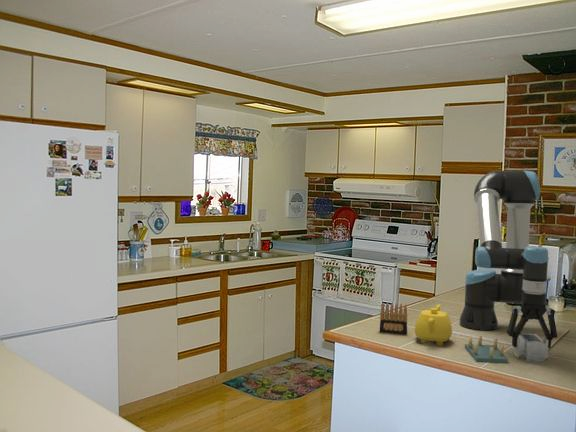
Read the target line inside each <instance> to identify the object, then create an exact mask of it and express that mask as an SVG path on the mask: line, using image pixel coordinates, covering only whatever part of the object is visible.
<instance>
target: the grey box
mask: <svg viewBox="0 0 576 432" xmlns="http://www.w3.org/2000/svg"><path fill="white" fill-rule="evenodd" d="M518 338H520V352H519V357H521V358H522V359H523V361H525V362H526V363H527V364H528V363H530V364H546V343H545V342H544V341H543V338H541V337H540V336H539V335H538V334H537V333H527V332H526V333H522V332H521V333H520V334H519V336H518Z"/></svg>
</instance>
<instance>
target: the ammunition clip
mask: <svg viewBox="0 0 576 432" xmlns="http://www.w3.org/2000/svg"><path fill="white" fill-rule="evenodd" d="M385 304H386V305H385ZM389 305H390V306H389ZM380 308H381V309H380V315H379V316H380V317H379V318H380V320H379V321H380V322H379V333H382V332H383V334H394V335H395V334H396V335H404V336H406V335H408V306H407V304H406V303H405V304H404V307H403V304H402V303H400V304H399V306H398V303H395V306H394V303H393V302H391V304H389V302H386V303H384V302H381V306H380ZM389 308H390V309H389Z"/></svg>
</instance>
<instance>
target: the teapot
mask: <svg viewBox="0 0 576 432" xmlns="http://www.w3.org/2000/svg"><path fill="white" fill-rule="evenodd" d="M440 307H441V304H439V303H437V304H436V305H435V307H430V308H429V309H424V310H421V312H420V314H419V315H418V318H417V320H416V323H415V326H414V334H415V336H416V337H417V338H418V339H420V341H419V342H420V343H421V344H426V343H427V342H428V341H430V342H431V341H432V342H436V345H437V346H443V345H444V343H443V342H448V341H449V340H450V338H451V336H452V334H453V330H452V329H453V328H452V322H451V320H450V318H449V317H450V316H449V315H448V313H447V312H445V311H441V310H440Z"/></svg>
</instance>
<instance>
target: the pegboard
mask: <svg viewBox="0 0 576 432" xmlns="http://www.w3.org/2000/svg"><path fill="white" fill-rule="evenodd" d="M477 339H478V340H477V341H478V343H473V337H468V344H467V343H465V344H464V348H465V350H466V352H468V353H469V355H470V356H471V357H472V359H473V360H474V361H475V362H477V363H478V362H479V363H483V362H484V363H503V364H504V363H506V364H509V359H508V358H507V357H506V355H505V354H504V351H505V349H504V348H505V345H504V344H499V349H498V338H493V344H492V345H491V344H483V335H481V334H480V335H478V338H477Z"/></svg>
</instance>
